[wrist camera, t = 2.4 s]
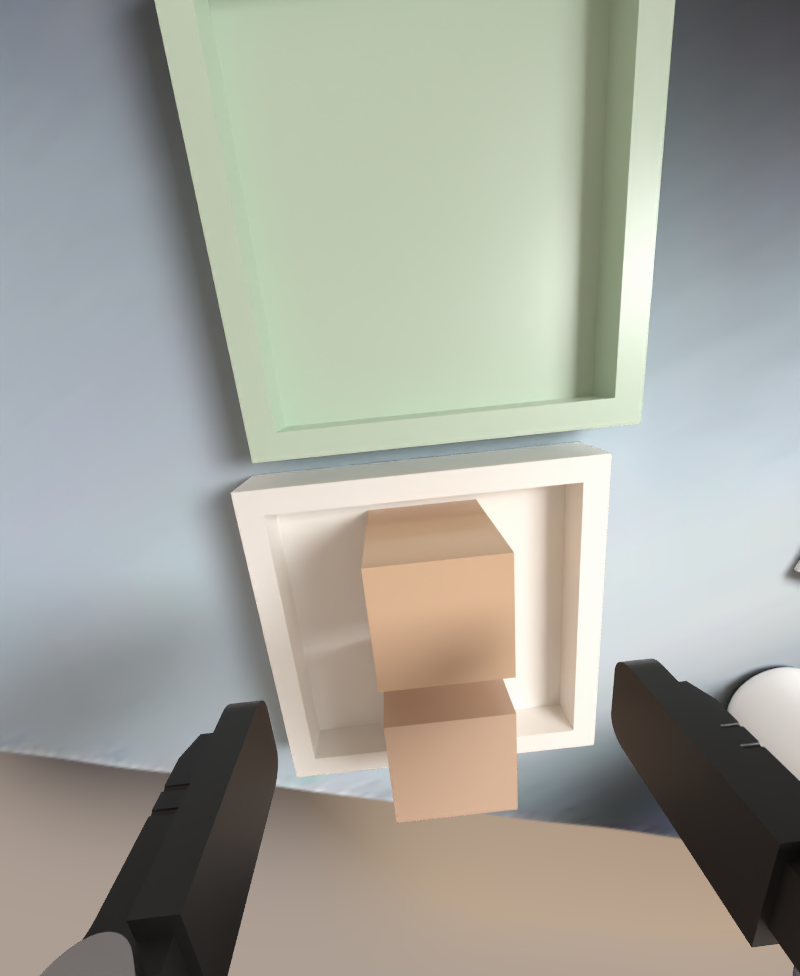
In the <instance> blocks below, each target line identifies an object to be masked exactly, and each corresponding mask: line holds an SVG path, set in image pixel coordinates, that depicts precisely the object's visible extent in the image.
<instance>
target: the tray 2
mask: <svg viewBox="0 0 800 976" xmlns="http://www.w3.org/2000/svg"><path fill="white" fill-rule="evenodd" d="M611 456H612V453H609V452H606V451H604V450H601V449H598V448H595V447H592V446H590V445H587V444H584V443H581V442H571V443H562V444H552V445H542V446H532V447H523V448H513V449H503V450H494V451H484V452H474V453H465V454H455V455H445V456H436V457H426V458H416V459H407V460H397V461H387V462H378V463H368V464H358V465H348V466H339V467H329V468H319V469H310V470H300V471H290V472H281V473H271V474H261V475H253V476H251V477H250V478H249V479H247V480H246V481H245V482H244V483H242V484H241V485H240V486H239V487H237V488H236V489H235V490H234V491H232V492H231V497H232V501H233V506H234V510H235V514H236V519H237V523H238V527H239V531H240V536H241V540H242V544H243V549H244V553H245V557H246V561H247V566H248V570H249V574H250V579H251V583H252V587H253V591H254V596H255V600H256V604H257V609H258V613H259V617H260V621H261V626H262V630H263V634H264V639H265V643H266V647H267V651H268V656H269V660H270V664H271V669H272V673H273V677H274V681H275V686H276V690H277V694H278V699H279V703H280V707H281V711H282V716H283V720H284V724H285V729H286V733H287V737H288V741H289V746H290V750H291V754H292V759H293V763H294V767H295V771H296V776H297V777H306V776H315V775H324V774H333V773H343V772H352V771H361V770H370V769H379V768H388V767H389V764H388V757H387V750H386V743H385V736H384V728H383V712H384V692H378V686H377V678H376V671H375V664H374V657H373V650H372V643H371V636H370V628H369V621H368V614H367V607H366V600H365V593H364V586H363V578H362V571H361V566H362V557H363V549H364V540H365V532H366V523H367V515H368V510H376V509H386V508H395V507H405V506H415V505H424V504H434V503H443V502H453V501H463V500H472V499H476V500H477V501H478V503H479V504H480V506H481V507H482V508H483V510H484V511H485V513H486V514H487V515H488V517H489V518H490V520H491V521H492V522H493V524H494V525H495V527H496V528H497V529H498V531H499V532H500V534H501V535H502V536H503V538H504V539H505V541H506V542H507V543H508V545H509V546H510V548H511V549H512V550H513V552H514V582H515V656H516V678H506V679H503V681H504V683H505V686H506V688H507V691H508V693H509V696H510V699H511V701H512V704H513V706H514V709H515V712H516V730H517V753H524V752H533V751H542V750H551V749H560V748H569V747H578V746H587V745H594V734H595V718H596V701H597V685H598V669H599V652H600V636H601V620H602V603H603V587H604V571H605V554H606V538H607V522H608V505H609V489H610V473H611Z"/></svg>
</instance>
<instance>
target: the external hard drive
mask: <svg viewBox="0 0 800 976" xmlns="http://www.w3.org/2000/svg"><path fill="white" fill-rule="evenodd" d="M794 570H795V571H797V572H800V560H799V561H798V563H797V564H796V566H795V568H794Z"/></svg>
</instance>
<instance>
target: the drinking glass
mask: <svg viewBox="0 0 800 976" xmlns="http://www.w3.org/2000/svg"><path fill="white" fill-rule="evenodd" d="M727 711H728V712H729V713H730V714H731V715H732V716H733V717H734V718H735V719H736V720H737V721H738V722H739V725H740V726H741V727H742V726H744V727H745V728H746V729H747V730H748V731H749V732H750V733H751V734H752V735H753V736H754V737H755V738H756V739H757V740H758V741H759V744H760V746H761V747H765V748H766V749H767V750H768V751H769V752H770V753H771V754H772V755H774V756H775V757H776V758H777V759H778V760H779V761H780V762H781V763H782V764H783V765H784V766H785V767H786V768H787V769H788V770H789V771H790V772H791V773H792V774H793V775H794V776H795V777H796V778H797V779H798V780H799V781H800V668H795V667H780V668H774V669H770V670H767V671H764V672H761V673H759V674H757V675H755V676H753V677H752V678H750V679H749V680H747V681H746V682H745V683H744V684H742V685H741V686H740V687H739V688H738V690H737V691H736V692H735V693H734V695H733V696H732V698H731V700H730V703H729V705H728V709H727Z"/></svg>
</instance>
